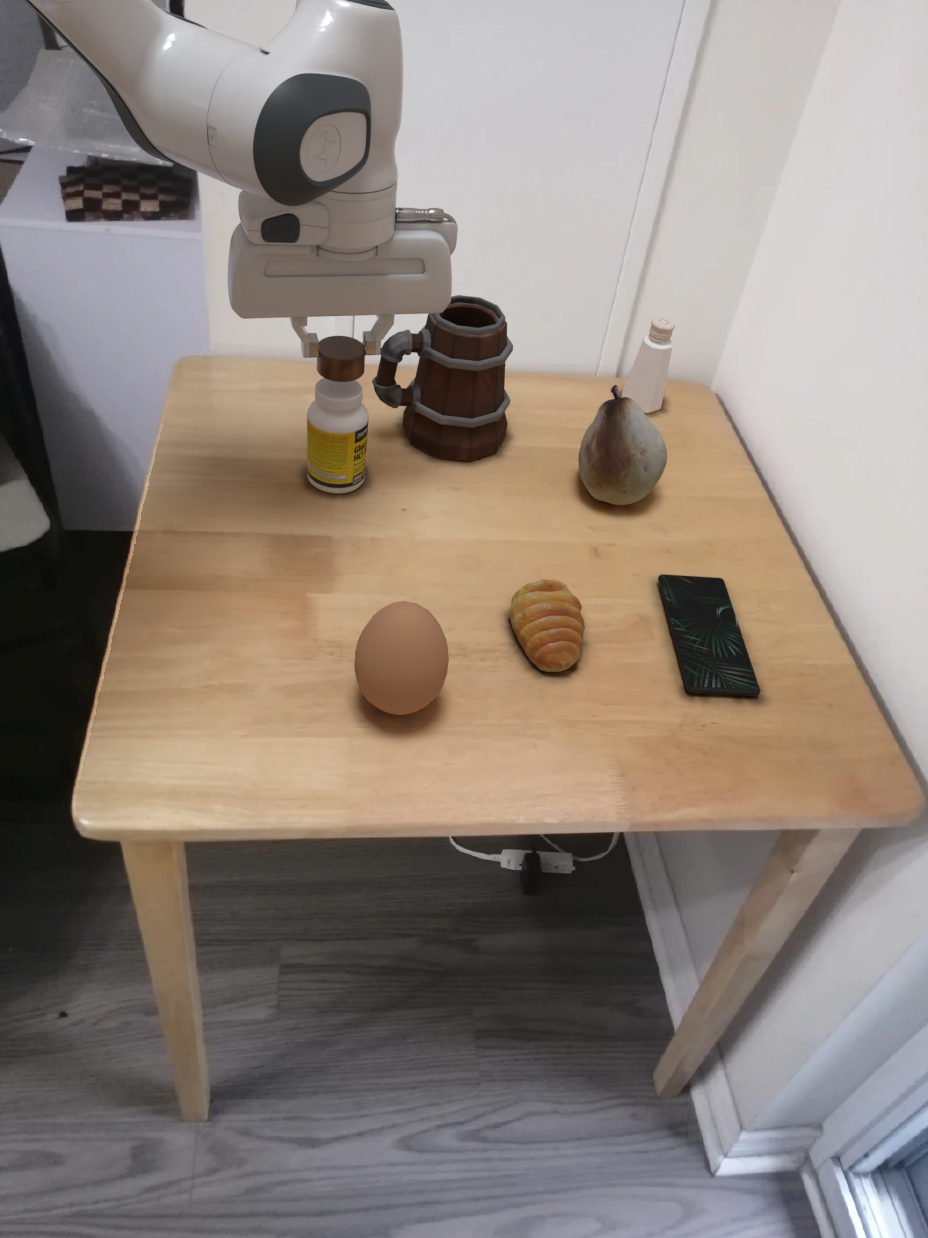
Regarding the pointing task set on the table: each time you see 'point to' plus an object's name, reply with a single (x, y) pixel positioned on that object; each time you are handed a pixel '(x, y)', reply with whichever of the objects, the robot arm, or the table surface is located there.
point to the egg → (401, 658)
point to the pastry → (548, 624)
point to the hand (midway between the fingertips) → (340, 353)
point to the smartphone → (707, 636)
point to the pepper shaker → (651, 367)
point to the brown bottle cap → (341, 358)
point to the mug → (452, 380)
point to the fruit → (621, 453)
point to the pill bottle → (337, 437)
